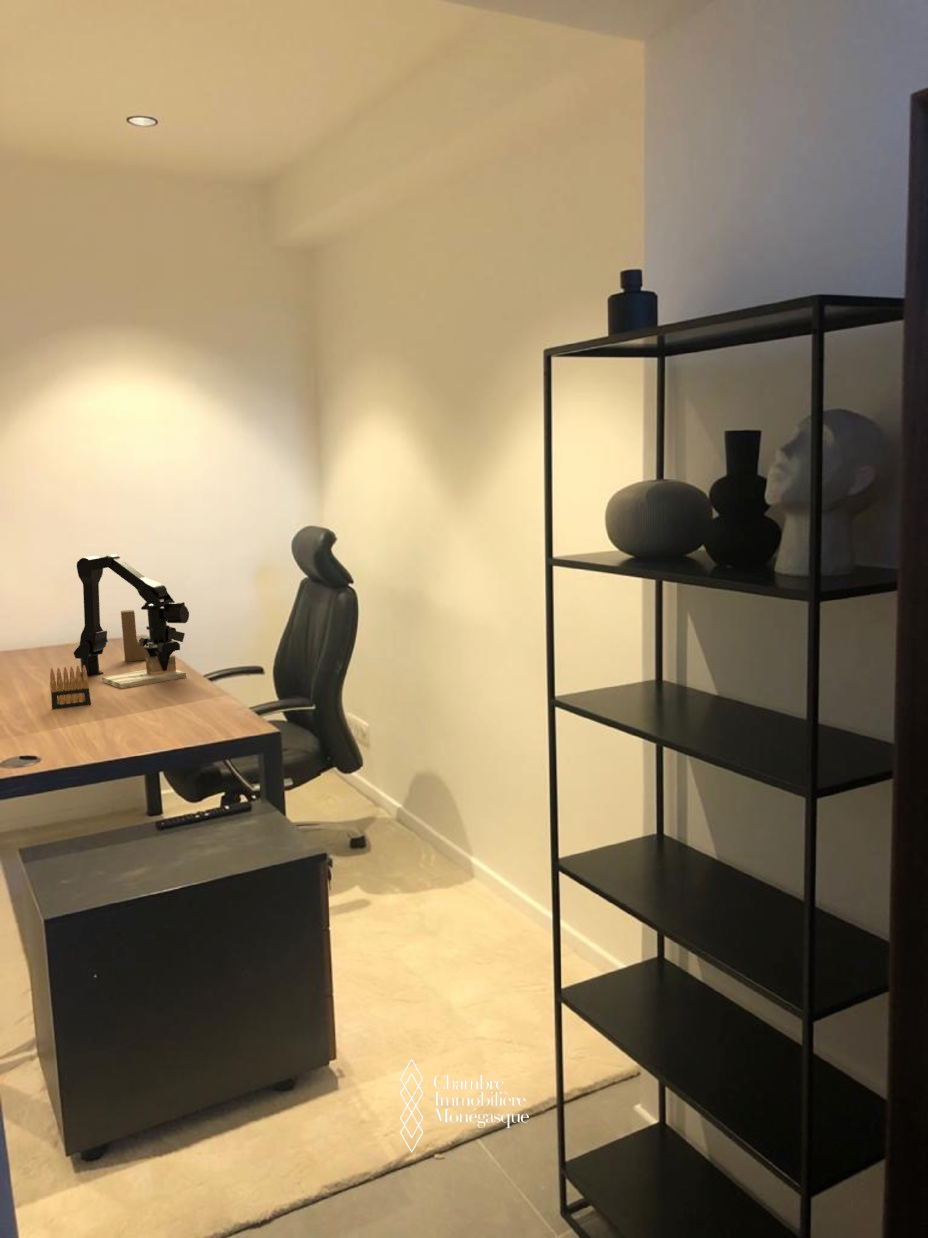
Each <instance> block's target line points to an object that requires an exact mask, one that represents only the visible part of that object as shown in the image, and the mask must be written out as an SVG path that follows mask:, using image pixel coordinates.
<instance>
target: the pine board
mask: <svg viewBox="0 0 928 1238" xmlns="http://www.w3.org/2000/svg"><path fill="white" fill-rule="evenodd" d="M183 678H187V672H185V671H182V670H179V669H176V671H173V672H167V673H161V674H155V675H152V674H149V673H147V670H146V669H143V670H137V671H130V672H125V673H119V674H113V675H108V676H101V680H102V682H103V683H106V684H108V685H110V686H112V687H116V688H118V689H127V688H133V687H138V686H144V685H150V684H154V683H160V682H165V681H173V680H177V679H183Z"/></svg>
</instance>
